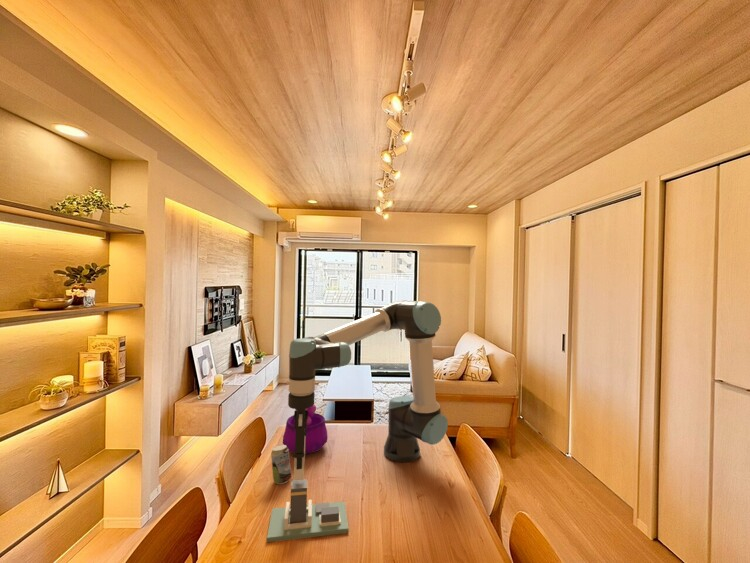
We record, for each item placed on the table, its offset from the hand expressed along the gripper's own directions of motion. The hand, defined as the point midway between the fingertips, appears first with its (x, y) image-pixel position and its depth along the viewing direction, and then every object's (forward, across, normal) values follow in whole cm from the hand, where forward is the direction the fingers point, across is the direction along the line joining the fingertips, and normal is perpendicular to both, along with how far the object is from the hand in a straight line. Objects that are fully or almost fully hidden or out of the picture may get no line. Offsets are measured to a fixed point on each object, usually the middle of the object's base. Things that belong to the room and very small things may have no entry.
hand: (299, 468), depth 96 cm
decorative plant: (+16, -46, +1) cm, 48 cm away
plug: (+15, 0, 0) cm, 15 cm away
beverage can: (+16, -22, -7) cm, 29 cm away
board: (+16, 0, +3) cm, 16 cm away
